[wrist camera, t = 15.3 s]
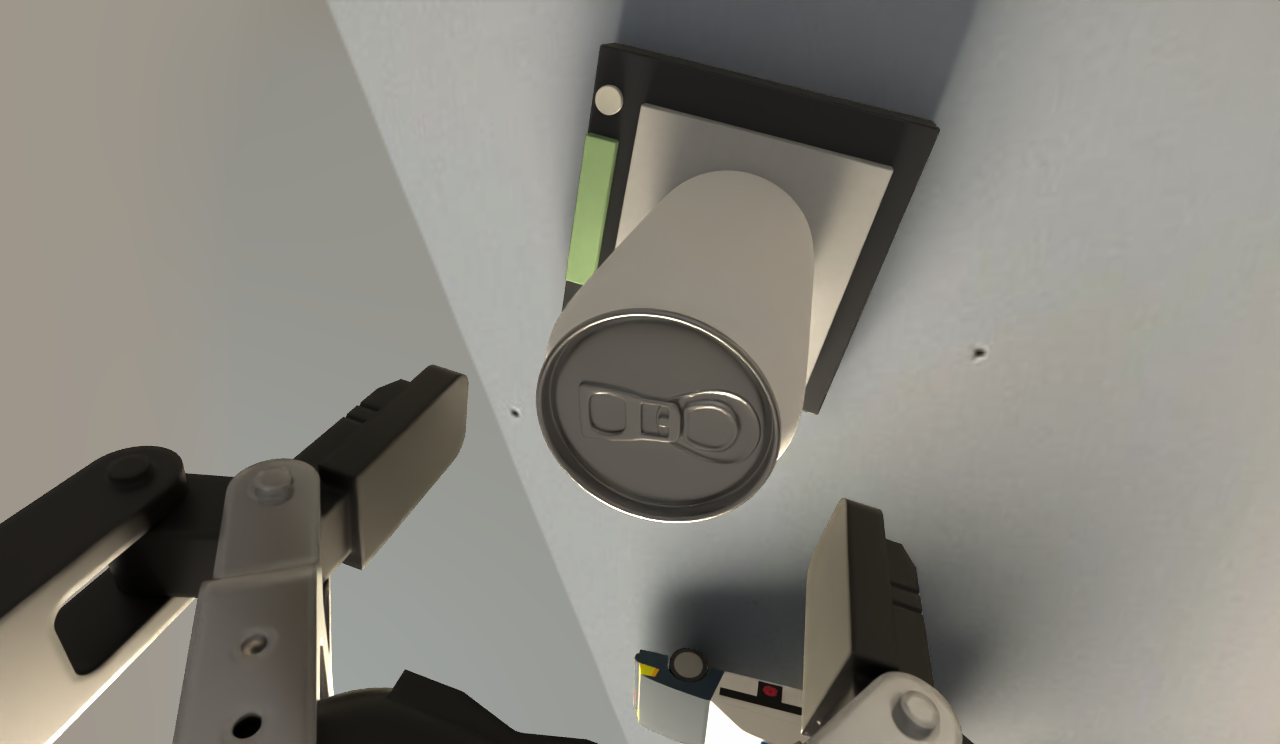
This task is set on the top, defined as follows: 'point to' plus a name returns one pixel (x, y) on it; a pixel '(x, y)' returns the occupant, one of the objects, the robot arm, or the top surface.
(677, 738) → the toy car
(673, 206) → the can
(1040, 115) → the top surface
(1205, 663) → the top surface
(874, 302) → the top surface
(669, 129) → the scale
